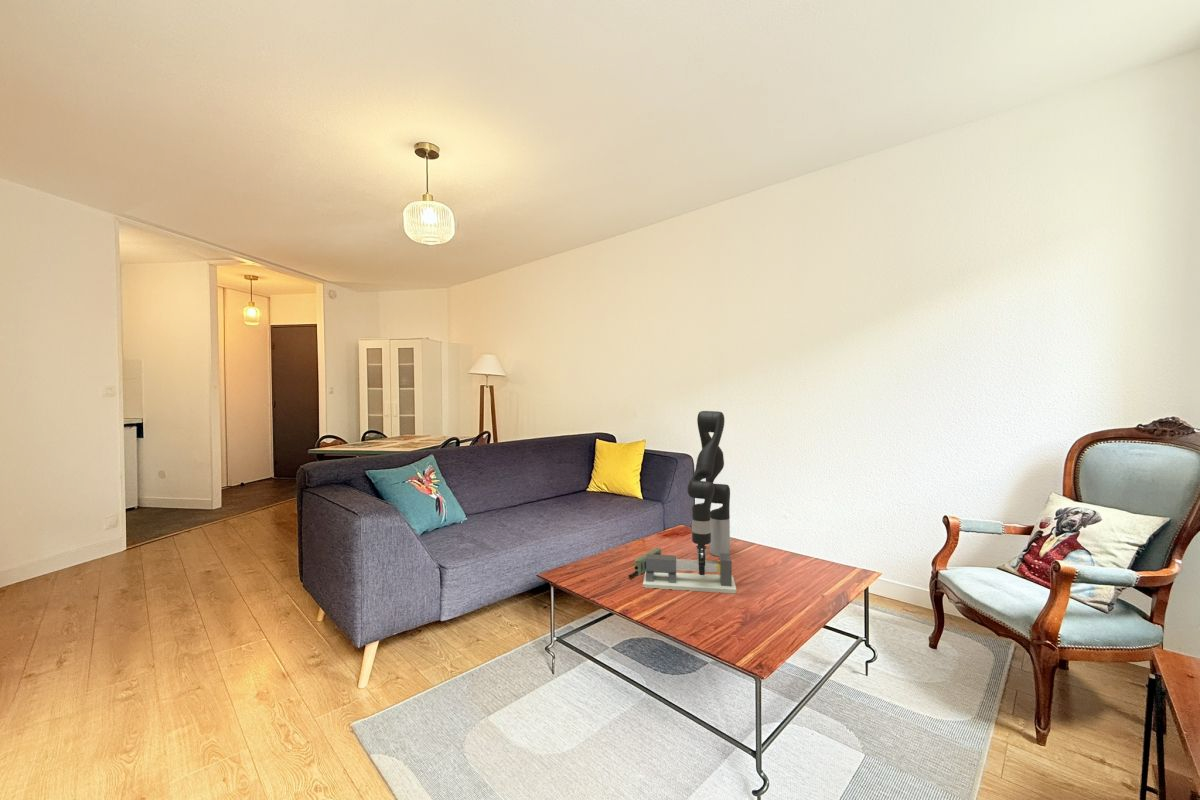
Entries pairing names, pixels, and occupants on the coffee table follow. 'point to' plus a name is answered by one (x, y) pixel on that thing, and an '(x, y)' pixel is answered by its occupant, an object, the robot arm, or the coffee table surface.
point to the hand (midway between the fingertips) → (701, 572)
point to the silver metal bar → (693, 565)
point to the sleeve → (661, 566)
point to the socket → (726, 570)
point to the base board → (690, 583)
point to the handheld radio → (643, 562)
